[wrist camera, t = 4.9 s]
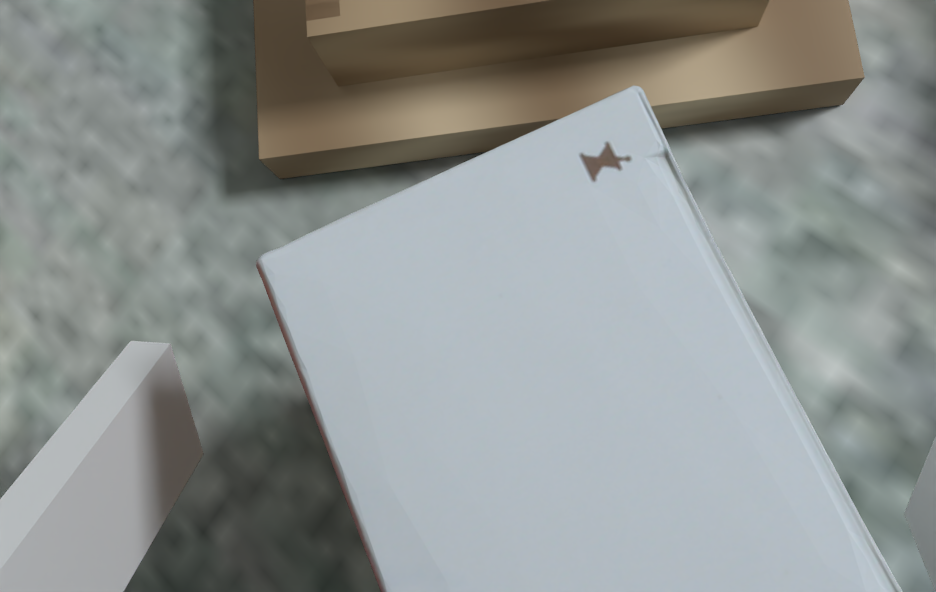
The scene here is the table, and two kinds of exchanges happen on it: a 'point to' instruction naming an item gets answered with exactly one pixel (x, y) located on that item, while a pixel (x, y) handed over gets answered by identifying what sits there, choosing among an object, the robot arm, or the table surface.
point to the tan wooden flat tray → (525, 70)
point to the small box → (560, 382)
